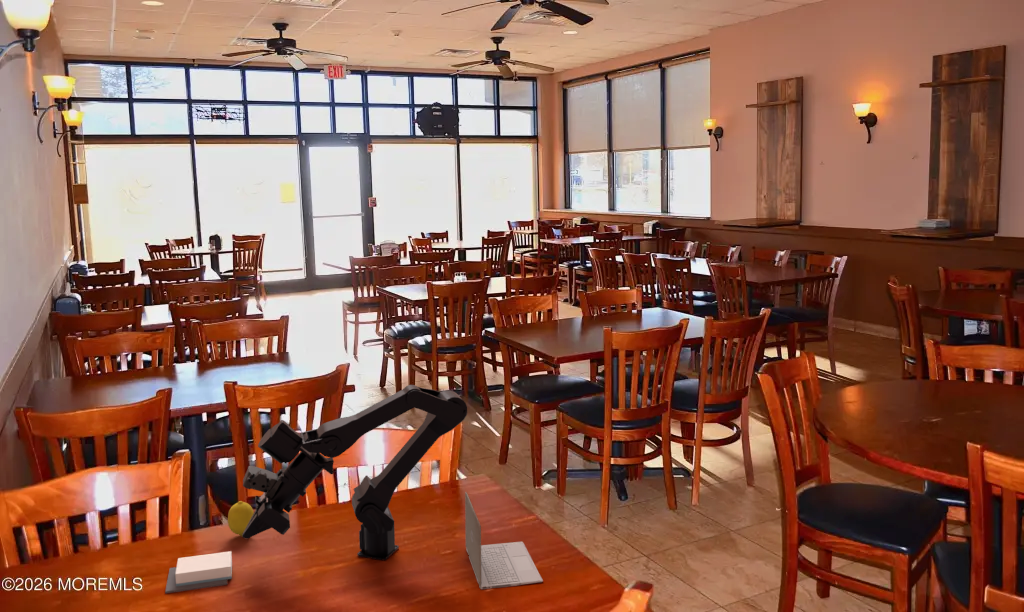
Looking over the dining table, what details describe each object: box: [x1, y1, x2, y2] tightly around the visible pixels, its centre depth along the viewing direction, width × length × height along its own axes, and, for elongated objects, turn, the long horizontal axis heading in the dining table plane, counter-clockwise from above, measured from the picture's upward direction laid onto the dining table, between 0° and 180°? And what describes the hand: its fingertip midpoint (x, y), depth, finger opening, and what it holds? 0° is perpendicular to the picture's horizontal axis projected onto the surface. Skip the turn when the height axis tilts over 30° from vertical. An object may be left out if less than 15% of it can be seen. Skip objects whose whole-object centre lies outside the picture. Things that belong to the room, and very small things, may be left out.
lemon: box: [227, 500, 255, 537], centre depth 179 cm, size 6×6×8 cm
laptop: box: [464, 491, 544, 590], centre depth 165 cm, size 18×12×13 cm
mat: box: [164, 566, 228, 594], centre depth 161 cm, size 11×10×1 cm
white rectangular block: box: [175, 550, 233, 586], centre depth 161 cm, size 2×7×10 cm
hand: (244, 537), depth 162 cm, fingers closed
